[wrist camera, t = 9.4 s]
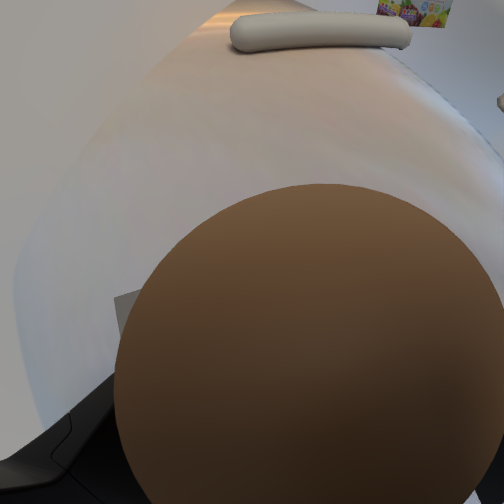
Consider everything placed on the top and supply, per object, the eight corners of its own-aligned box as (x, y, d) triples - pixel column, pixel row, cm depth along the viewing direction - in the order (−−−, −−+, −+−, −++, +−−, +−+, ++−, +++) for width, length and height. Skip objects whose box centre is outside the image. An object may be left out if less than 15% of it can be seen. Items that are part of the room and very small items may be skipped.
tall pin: (323, 408, 14) (538, 439, 2) (251, 433, 14) (203, 605, 1) (297, 342, 16) (415, 156, 3) (228, 365, 15) (86, 251, 3)
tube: (235, 34, 25) (417, 34, 27) (224, 9, 26) (397, 10, 28) (235, 65, 31) (402, 56, 33) (225, 39, 31) (385, 32, 33)
